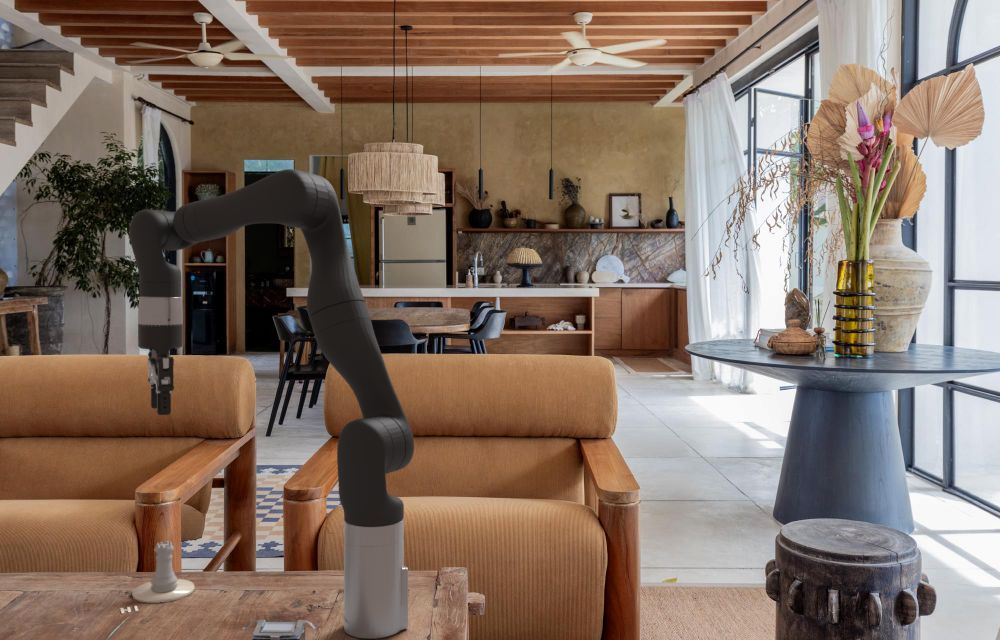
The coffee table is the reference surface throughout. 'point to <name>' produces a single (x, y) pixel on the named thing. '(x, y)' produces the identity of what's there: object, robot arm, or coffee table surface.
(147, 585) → the cream round disc
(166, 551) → the rook chess piece
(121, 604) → the coffee table surface
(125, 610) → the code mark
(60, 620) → the coffee table surface
